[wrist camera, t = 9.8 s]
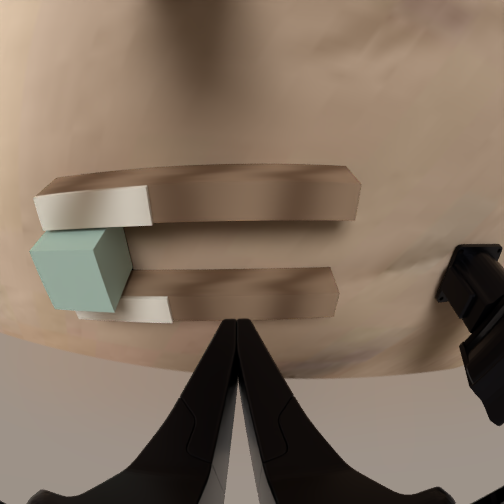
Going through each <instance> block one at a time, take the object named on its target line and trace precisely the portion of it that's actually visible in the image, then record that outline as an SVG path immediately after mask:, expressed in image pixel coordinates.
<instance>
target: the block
mask: <svg viewBox="0 0 504 504" xmlns="http://www.w3.org/2000/svg"><path fill="white" fill-rule="evenodd" d="M29 252H30V254H31V257H32V259H33V262H34V264H35V266H36V269H37V271H38V273H39V276H40V278H41V280H42V282H43V285H44V287H45V289H46V291H47V293H48V296H49V298H50V300H51V302H52V304H53V306H54V308H55V309H61V310H76V311H92V312H112V313H115V310H116V307H117V305H118V302H119V300H120V297H121V295H122V292H123V289H124V287H125V284H126V282H127V279H128V277H129V275H130V272H131V270H132V267H133V266H132V262H131V258H130V254H129V250H128V246H127V242H126V238H125V233H124V229H123V227H103V228H82V229H64V230H47V231H46V232H45V233H44V234H43V235H42V236H41V238H40V239H39V240H38V241H37V242H36V244H35V245H34V246H33V247H32V249H31V250H30V251H29Z"/></svg>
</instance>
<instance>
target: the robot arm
mask: <svg viewBox="0 0 504 504" xmlns="http://www.w3.org/2000/svg"><path fill="white" fill-rule="evenodd" d="M501 252H502V247H501V245H500V244H461V245H458V246H457V247H456V249H455V252H454V254H453V257H452V260H451V262H450V265H449V267H448V270H447V272H446V274H445V277H444V279H443V281H442V284H441V286H440V288H439V291H438V293H437V295H436V300H437V301H438V302H447V301H449V303H450V304H451V306H452V307H453V309H454V311H455V312H456V314H457V315H458V317H459V318H460V319H462V320H463V321H464V323H465V325H466V326H467V328H468V330H469V332H470V333H472V334H471V335H470V336H469V337H468V338H467V339H466V340H465V342H462V343H461V344H460V346H459V348H460V352H461V356H462V359H463V363H464V367H465V370H466V375H467V378H468V382H469V386H470V388H471V389H472V390H473V392H474V393H475V394H476V395H477V396H478V397H479V398H480V399H481V401H482V403H483V405H484V407H485V409H486V412H487V414H488V417H489V419H490V420H491V421H492V422H493V423H494V424H496V425H497V426H501V425H502V424H503V423H504V268H503V267H502V266H501V265H500V264H499V262H498V259H499V256H500V254H501ZM238 382H239V389H240V396H241V402H242V408H243V414H244V419H245V425H246V432H247V437H248V442H249V448H250V454H251V460H252V465H253V471H254V476H255V482H256V487H257V492H258V497H259V502H260V504H455V501H454V499H453V498H452V497H451V495H449V494H448V493H447V492H446V491H444V490H443V489H442V488H441V487H434V488H431V489H428V490H425V491H422V492H419V493H417V494H412V495H404V494H399V493H397V492H394V491H392V490H390V489H388V488H386V487H385V486H383V485H381V484H379V483H377V482H375V481H374V480H372V479H370V478H368V477H366V476H365V475H363V474H361V473H359V472H357V471H356V470H354V469H353V468H351V467H350V466H349V465H348V464H346V463H345V461H343V459H342V458H341V457H340V456H339V455H338V454H337V453H336V452H335V450H334V449H333V448H332V447H331V446H330V445H329V443H328V442H327V441H326V440H325V439H324V437H323V436H322V435H321V434H320V433H319V431H318V430H317V429H316V428H315V426H314V425H313V424H312V422H311V421H310V420H309V418H308V417H307V416H306V414H305V413H304V411H303V409H302V408H301V406H300V405H299V403H298V402H297V400H296V398H295V397H294V396H293V393H292V391H291V390H290V388H289V386H288V385H287V383H286V381H285V379H284V378H283V376H282V374H281V373H280V371H279V369H278V367H277V366H276V364H275V362H274V360H273V359H272V357H271V355H270V354H269V352H268V350H267V348H266V347H265V345H264V343H263V341H262V339H261V338H260V336H259V334H258V332H257V331H256V329H255V327H254V325H253V324H252V322H251V320H250V319H249V318H239V319H237V321H236V319H224V320H223V321H222V322H221V324H220V326H219V328H218V330H217V331H216V333H215V335H214V337H213V339H212V340H211V342H210V344H209V346H208V347H207V349H206V351H205V353H204V355H203V356H202V358H201V360H200V362H199V363H198V365H197V367H196V369H195V371H194V372H193V374H192V376H191V378H190V379H189V381H188V383H187V385H186V386H185V388H184V390H183V392H182V394H181V396H180V398H179V399H178V401H177V402H176V404H175V406H174V408H173V409H172V411H171V412H170V414H169V416H168V417H167V419H166V420H165V422H164V423H163V424H162V426H161V427H160V429H159V430H158V431H157V433H156V434H155V435H154V436H153V438H152V439H151V440H150V442H149V443H148V444H147V445H146V447H145V448H144V449H143V450H142V452H141V453H140V454H139V455H138V457H137V458H136V459H135V460H134V461H133V462H132V463H131V465H130V466H128V467H127V468H126V469H125V470H123V471H122V472H120V473H119V474H117V475H115V476H113V477H112V478H110V479H108V480H107V481H105V482H103V483H102V484H99V485H98V486H96V487H94V488H92V489H90V490H88V491H87V492H85V493H83V494H80V495H78V496H72V497H66V496H62V495H59V494H56V493H53V492H50V491H47V490H40V491H38V492H37V493H36V494H35V495H33V496H32V497H31V498H30V499H29V501H28V503H27V504H224V497H225V495H224V494H225V489H226V479H227V472H228V463H229V455H230V446H231V438H232V429H233V421H234V412H235V404H236V395H237V386H238ZM0 504H6V503H4V502H2V501H0ZM471 504H504V486H502V487H500V488H499V489H497V490H495V491H493V492H491V493H489V494H488V495H486V496H484V497H482V498H480V499H478V500H476V501H475V502H473V503H471Z"/></svg>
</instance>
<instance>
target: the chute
mask: <svg viewBox="0 0 504 504" xmlns="http://www.w3.org/2000/svg"><path fill="white" fill-rule="evenodd" d="M360 190H361V183H360V182H359V181H358V179H357V178H356V177H355V176H354V175H353V174H352V172H351V171H350V170H349V169H348V168H347V167H346V166H331V165H303V164H219V165H191V166H172V167H156V168H143V169H131V170H120V171H110V172H100V173H91V174H83V175H75V176H67V177H60V178H56V179H55V180H54V181H52V182H51V183H50V184H49V185H48V186H47V187H45V188H44V189H43V190H42V191H41V192H40V193H39V194H37V195H36V196H35V197H34V198H33V199H34V203H35V206H36V209H37V213H38V216H39V219H40V222H41V225H42V228H43V231H47V230H64V229H82V228H103V227H126V226H152V224H153V223H166V222H201V221H258V220H351V221H355V218H356V213H357V207H358V202H359V196H360ZM339 294H340V293H339V290H338V287H337V284H336V282H335V279H334V276H333V274H332V271H331V268H330V267H320V268H277V269H219V270H131V272H130V275H129V277H128V279H127V282H126V284H125V287H124V289H123V292H122V295H121V297H120V300H119V302H118V305H117V307H116V310H115V313H112V312H92V311H76V310H75V311H76V313H77V316H78V318H79V319H88V320H104V321H122V322H147V323H173V320H192V321H223V320H224V319H236V320H237V319H239V318H249V319H250V320H273V319H298V318H318V317H334V314H335V310H336V306H337V302H338V298H339Z"/></svg>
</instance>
